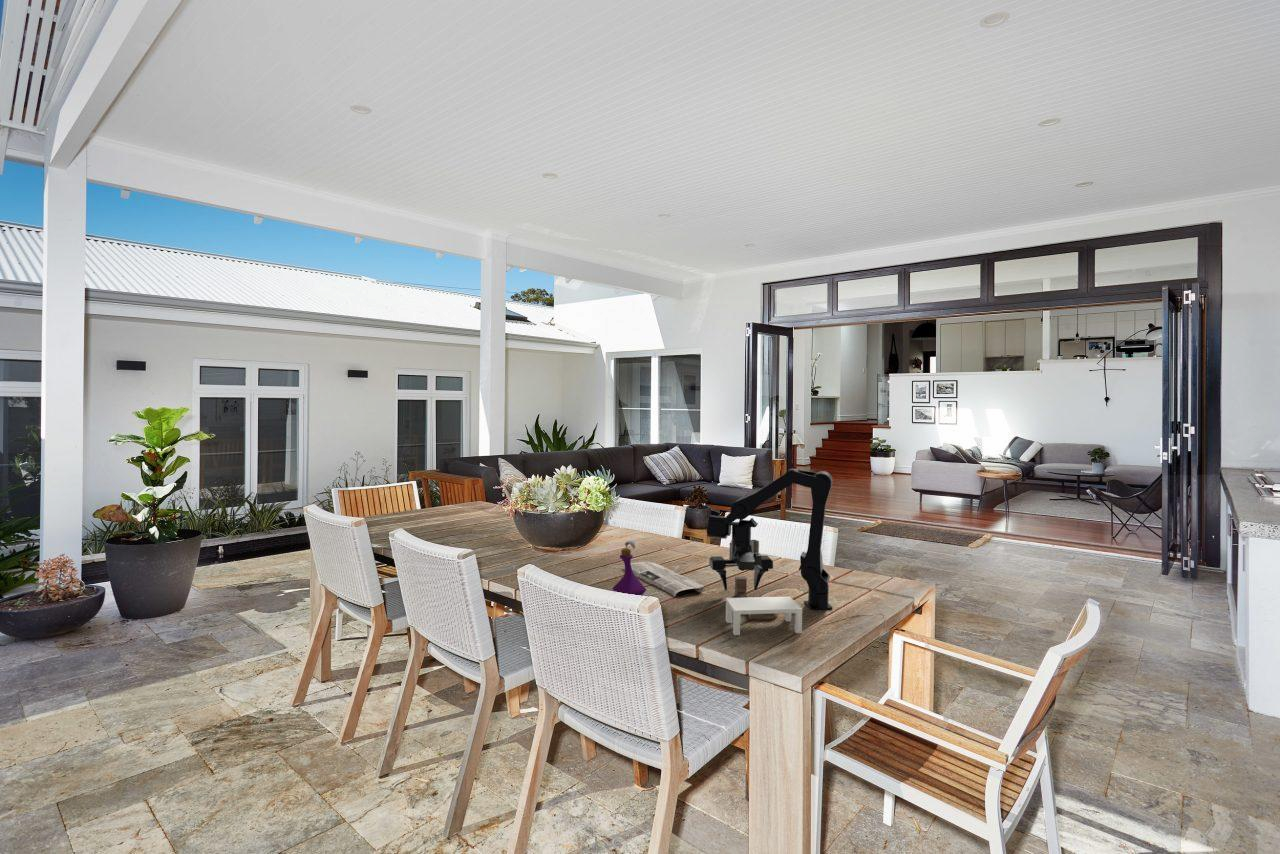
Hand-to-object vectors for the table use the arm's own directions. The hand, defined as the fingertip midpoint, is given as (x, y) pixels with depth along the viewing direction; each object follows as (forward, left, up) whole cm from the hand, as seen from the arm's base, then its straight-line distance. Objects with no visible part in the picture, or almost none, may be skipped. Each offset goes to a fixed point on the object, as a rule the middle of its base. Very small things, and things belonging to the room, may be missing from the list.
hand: (740, 590), depth 198 cm
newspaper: (-19, -21, -3) cm, 28 cm away
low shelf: (+25, 0, -2) cm, 25 cm away
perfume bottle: (0, -34, -2) cm, 34 cm away
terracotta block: (+16, +4, -2) cm, 16 cm away
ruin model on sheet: (-40, +11, -3) cm, 42 cm away
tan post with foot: (+9, +2, -2) cm, 9 cm away
